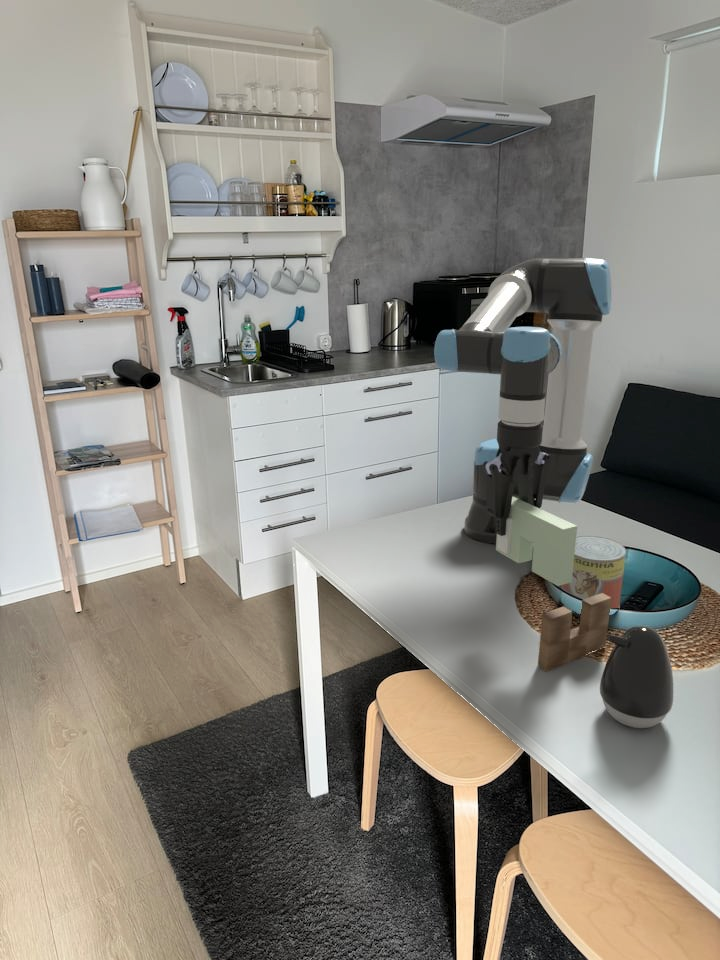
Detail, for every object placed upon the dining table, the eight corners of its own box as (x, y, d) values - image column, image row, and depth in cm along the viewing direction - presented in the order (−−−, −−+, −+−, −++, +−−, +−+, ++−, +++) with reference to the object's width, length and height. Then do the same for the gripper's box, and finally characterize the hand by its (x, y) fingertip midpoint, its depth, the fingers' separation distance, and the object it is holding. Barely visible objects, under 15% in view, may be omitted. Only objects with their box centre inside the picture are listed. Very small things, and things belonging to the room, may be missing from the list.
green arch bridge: (508, 547, 127) (512, 496, 124) (571, 582, 114) (577, 525, 111) (495, 550, 126) (498, 498, 123) (557, 586, 113) (563, 529, 109)
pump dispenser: (585, 697, 109) (594, 612, 104) (648, 693, 110) (661, 608, 105) (612, 741, 99) (625, 650, 94) (682, 736, 100) (698, 645, 95)
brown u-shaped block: (596, 642, 124) (602, 592, 120) (605, 648, 122) (611, 597, 119) (537, 665, 117) (542, 613, 114) (546, 671, 116) (550, 619, 112)
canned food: (551, 606, 136) (556, 551, 132) (570, 584, 145) (575, 531, 141) (610, 623, 130) (617, 565, 126) (626, 598, 139) (633, 544, 135)
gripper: (541, 411, 123) (532, 532, 131) (468, 422, 116) (462, 549, 124) (572, 420, 117) (560, 547, 125) (496, 432, 110) (488, 565, 118)
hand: (511, 548), depth 124 cm, fingers closed on green arch bridge, 3 cm apart
